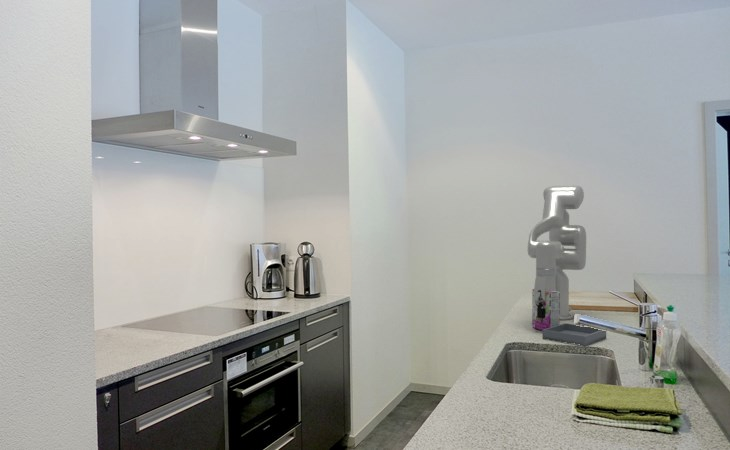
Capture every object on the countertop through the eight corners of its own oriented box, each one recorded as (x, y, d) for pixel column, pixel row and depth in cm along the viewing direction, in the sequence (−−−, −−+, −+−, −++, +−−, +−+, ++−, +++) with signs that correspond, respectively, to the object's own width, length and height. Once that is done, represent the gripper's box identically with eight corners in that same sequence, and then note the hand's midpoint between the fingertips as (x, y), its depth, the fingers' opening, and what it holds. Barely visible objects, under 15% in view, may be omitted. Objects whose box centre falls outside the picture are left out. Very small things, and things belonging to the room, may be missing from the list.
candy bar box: (531, 328, 227) (531, 288, 227) (541, 327, 229) (541, 288, 229) (550, 333, 217) (550, 292, 217) (560, 332, 219) (560, 291, 218)
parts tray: (564, 331, 220) (564, 323, 220) (606, 338, 208) (606, 329, 208) (542, 338, 208) (542, 329, 208) (585, 346, 196) (585, 336, 196)
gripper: (547, 270, 231) (547, 313, 232) (526, 273, 219) (526, 318, 220) (564, 271, 226) (564, 315, 226) (543, 275, 214) (543, 321, 214)
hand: (545, 316), depth 223 cm, fingers closed on candy bar box, 6 cm apart
